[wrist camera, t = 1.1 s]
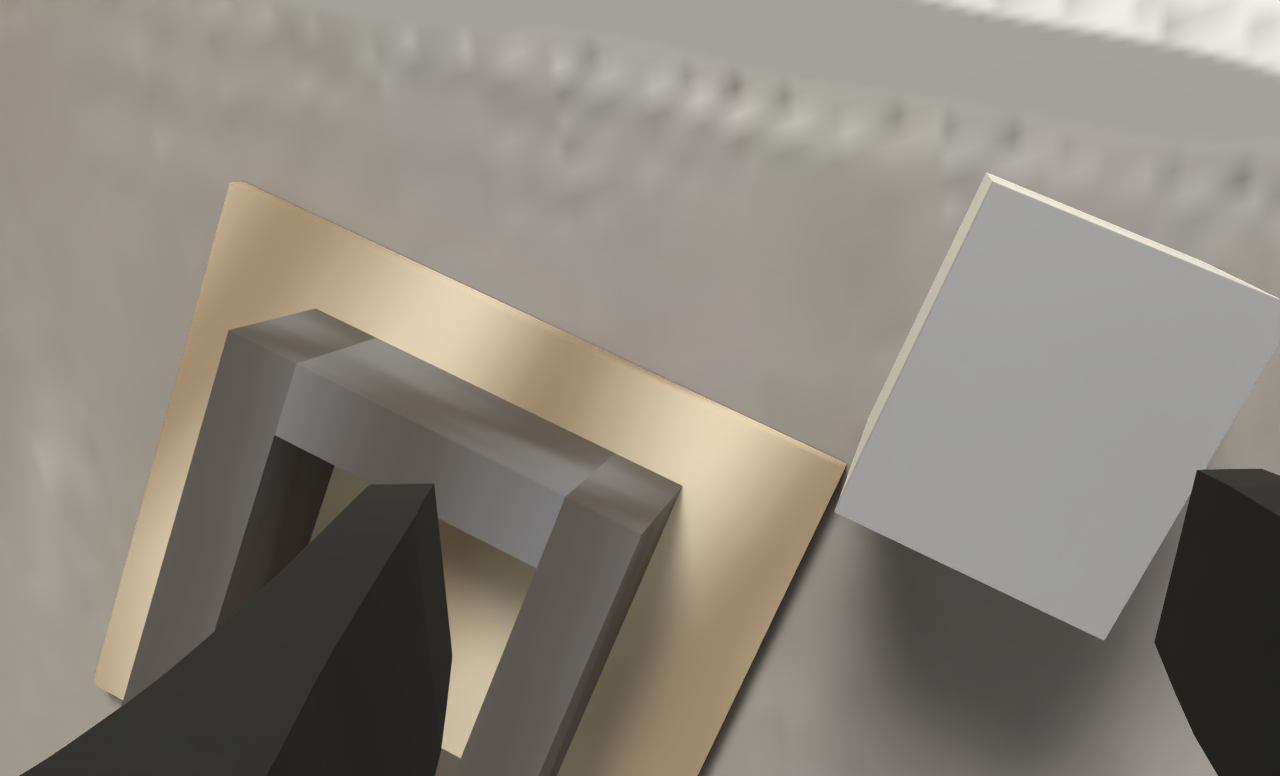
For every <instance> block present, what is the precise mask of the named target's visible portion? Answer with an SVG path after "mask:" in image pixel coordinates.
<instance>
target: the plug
mask: <svg viewBox="0 0 1280 776" xmlns="http://www.w3.org/2000/svg"><path fill="white" fill-rule="evenodd" d="M1279 342H1280V299H1279V298H1277V297H1275V296H1272V295H1270V294H1268V293H1266V292H1264V291H1262V290H1260V289H1258V288H1256V287H1254V286H1252V285H1250V284H1248V283H1246V282H1244V281H1242V280H1240V279H1238V278H1236V277H1234V276H1232V275H1230V274H1228V273H1226V272H1223V271H1221V270H1219V269H1217V268H1215V267H1213V266H1211V265H1209V264H1207V263H1205V262H1203V261H1200V260H1198V259H1196V258H1193V257H1191V256H1188V255H1186V254H1183V253H1181V252H1179V251H1176V250H1174V249H1171V248H1169V247H1166V246H1164V245H1162V244H1159V243H1157V242H1154V241H1152V240H1149V239H1147V238H1145V237H1142V236H1140V235H1137V234H1135V233H1132V232H1130V231H1128V230H1125V229H1123V228H1120V227H1118V226H1115V225H1113V224H1111V223H1108V222H1106V221H1103V220H1101V219H1098V218H1096V217H1094V216H1091V215H1089V214H1086V213H1084V212H1081V211H1079V210H1077V209H1074V208H1072V207H1069V206H1067V205H1064V204H1062V203H1060V202H1057V201H1055V200H1052V199H1050V198H1048V197H1045V196H1043V195H1040V194H1038V193H1035V192H1033V191H1031V190H1028V189H1026V188H1023V187H1021V186H1018V185H1016V184H1014V183H1011V182H1009V181H1006V180H1004V179H1001V178H999V177H997V176H994V175H992V174H989V173H987V172H986V174H985V176H984V178H983V180H982V182H981V184H980V186H979V188H978V190H977V192H976V195H975V197H974V199H973V201H972V203H971V205H970V207H969V209H968V211H967V213H966V215H965V217H964V220H963V222H962V224H961V226H960V228H959V230H958V232H957V234H956V236H955V238H954V240H953V243H952V245H951V247H950V249H949V251H948V253H947V255H946V257H945V259H944V261H943V263H942V265H941V268H940V270H939V272H938V274H937V276H936V278H935V280H934V282H933V284H932V286H931V288H930V290H929V293H928V295H927V297H926V299H925V301H924V303H923V305H922V307H921V309H920V311H919V313H918V316H917V318H916V320H915V322H914V324H913V326H912V328H911V330H910V332H909V334H908V336H907V338H906V341H905V343H904V345H903V347H902V349H901V351H900V353H899V355H898V357H897V359H896V361H895V363H894V366H893V368H892V370H891V372H890V374H889V376H888V378H887V380H886V382H885V384H884V386H883V389H882V391H881V393H880V395H879V397H878V399H877V401H876V403H875V405H874V407H873V409H872V411H871V414H870V416H869V418H868V420H867V423H866V426H865V429H864V431H863V434H862V437H861V440H860V442H859V445H858V448H857V451H856V453H855V456H854V459H853V462H852V464H851V467H850V470H849V473H848V475H847V478H846V481H845V484H844V486H843V489H842V492H841V495H840V497H839V500H838V503H837V506H836V508H835V511H834V512H835V513H837V514H839V515H841V516H843V517H845V518H848V519H850V520H852V521H854V522H856V523H858V524H860V525H862V526H864V527H866V528H869V529H871V530H873V531H875V532H877V533H879V534H881V535H883V536H885V537H887V538H890V539H892V540H894V541H896V542H898V543H900V544H902V545H904V546H906V547H908V548H911V549H913V550H915V551H917V552H919V553H921V554H923V555H925V556H927V557H929V558H932V559H934V560H936V561H938V562H940V563H942V564H944V565H946V566H948V567H950V568H953V569H955V570H957V571H959V572H961V573H963V574H965V575H967V576H969V577H971V578H974V579H976V580H978V581H980V582H982V583H984V584H986V585H988V586H990V587H992V588H995V589H997V590H999V591H1001V592H1003V593H1005V594H1007V595H1009V596H1011V597H1013V598H1016V599H1018V600H1020V601H1022V602H1024V603H1026V604H1028V605H1030V606H1032V607H1034V608H1037V609H1039V610H1041V611H1043V612H1045V613H1047V614H1049V615H1051V616H1053V617H1055V618H1058V619H1060V620H1062V621H1064V622H1066V623H1068V624H1070V625H1072V626H1074V627H1076V628H1079V629H1081V630H1083V631H1085V632H1087V633H1089V634H1091V635H1093V636H1095V637H1097V638H1100V639H1102V640H1105V639H1106V637H1107V635H1108V634H1109V632H1110V630H1111V628H1112V627H1113V625H1114V623H1115V622H1116V620H1117V618H1118V616H1119V615H1120V613H1121V611H1122V610H1123V608H1124V606H1125V605H1126V603H1127V601H1128V599H1129V598H1130V596H1131V594H1132V593H1133V591H1134V589H1135V588H1136V586H1137V584H1138V582H1139V581H1140V579H1141V577H1142V576H1143V574H1144V572H1145V570H1146V569H1147V567H1148V565H1149V564H1150V562H1151V560H1152V559H1153V557H1154V555H1155V553H1156V552H1157V550H1158V548H1159V547H1160V545H1161V543H1162V542H1163V540H1164V538H1165V536H1166V535H1167V533H1168V531H1169V530H1170V528H1171V526H1172V524H1173V523H1174V521H1175V519H1176V518H1177V516H1178V514H1179V513H1180V511H1181V509H1182V507H1183V506H1184V504H1185V502H1186V501H1187V499H1188V497H1189V496H1190V494H1191V492H1192V488H1193V484H1194V480H1195V475H1196V471H1197V470H1205V468H1206V467H1207V465H1208V463H1209V461H1210V460H1211V458H1212V456H1213V455H1214V453H1215V451H1216V449H1217V448H1218V446H1219V444H1220V443H1221V441H1222V439H1223V438H1224V436H1225V434H1226V432H1227V431H1228V429H1229V427H1230V426H1231V424H1232V422H1233V421H1234V419H1235V417H1236V415H1237V414H1238V412H1239V410H1240V409H1241V407H1242V405H1243V403H1244V402H1245V400H1246V398H1247V397H1248V395H1249V393H1250V392H1251V390H1252V388H1253V386H1254V385H1255V383H1256V381H1257V380H1258V378H1259V376H1260V375H1261V373H1262V371H1263V369H1264V368H1265V366H1266V364H1267V363H1268V361H1269V359H1270V357H1271V356H1272V354H1273V352H1274V351H1275V349H1276V347H1277V346H1278V344H1279Z"/></svg>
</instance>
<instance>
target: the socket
mask: <svg viewBox="0 0 1280 776" xmlns="http://www.w3.org/2000/svg"><path fill="white" fill-rule="evenodd" d="M845 466H846V463H844V462H842V461H840V460H838V459H836V458H833V457H831V456H829V455H827V454H825V453H823V452H821V451H818V450H816V449H814V448H812V447H810V446H808V445H806V444H803V443H801V442H799V441H797V440H795V439H793V438H791V437H789V436H786V435H784V434H782V433H780V432H778V431H776V430H774V429H771V428H769V427H767V426H765V425H763V424H761V423H759V422H756V421H754V420H752V419H750V418H748V417H746V416H744V415H741V414H739V413H737V412H735V411H733V410H731V409H729V408H726V407H724V406H722V405H720V404H718V403H716V402H714V401H712V400H709V399H707V398H705V397H703V396H701V395H699V394H697V393H694V392H692V391H690V390H688V389H686V388H684V387H682V386H679V385H677V384H675V383H673V382H671V381H669V380H667V379H664V378H662V377H660V376H658V375H656V374H654V373H652V372H649V371H647V370H645V369H643V368H641V367H639V366H637V365H635V364H632V363H630V362H628V361H626V360H624V359H622V358H620V357H617V356H615V355H613V354H611V353H609V352H607V351H605V350H602V349H600V348H598V347H596V346H594V345H592V344H590V343H587V342H585V341H583V340H581V339H579V338H577V337H575V336H573V335H570V334H568V333H566V332H564V331H562V330H560V329H558V328H555V327H553V326H551V325H549V324H547V323H545V322H543V321H540V320H538V319H536V318H534V317H532V316H530V315H528V314H525V313H523V312H521V311H519V310H517V309H515V308H513V307H510V306H508V305H506V304H504V303H502V302H500V301H498V300H496V299H493V298H491V297H489V296H487V295H485V294H483V293H481V292H478V291H476V290H474V289H472V288H470V287H468V286H466V285H463V284H461V283H459V282H457V281H455V280H453V279H451V278H448V277H446V276H444V275H442V274H440V273H438V272H436V271H433V270H431V269H429V268H427V267H425V266H423V265H421V264H419V263H416V262H414V261H412V260H410V259H408V258H406V257H404V256H401V255H399V254H397V253H395V252H393V251H391V250H389V249H386V248H384V247H382V246H380V245H378V244H376V243H374V242H371V241H369V240H367V239H365V238H363V237H361V236H359V235H356V234H354V233H352V232H350V231H348V230H346V229H344V228H342V227H339V226H337V225H335V224H333V223H331V222H329V221H327V220H324V219H322V218H320V217H318V216H316V215H314V214H312V213H309V212H307V211H305V210H303V209H301V208H299V207H297V206H294V205H292V204H290V203H288V202H286V201H284V200H282V199H279V198H277V197H275V196H273V195H271V194H269V193H267V192H265V191H262V190H260V189H258V188H256V187H254V186H252V185H250V184H247V183H245V182H232V183H230V184H229V187H228V191H227V195H226V198H225V202H224V206H223V209H222V213H221V217H220V220H219V224H218V228H217V231H216V235H215V238H214V242H213V246H212V249H211V253H210V257H209V260H208V264H207V268H206V271H205V275H204V279H203V282H202V286H201V290H200V293H199V297H198V301H197V304H196V308H195V312H194V315H193V319H192V322H191V326H190V330H189V333H188V337H187V341H186V344H185V348H184V352H183V355H182V359H181V363H180V366H179V370H178V374H177V377H176V381H175V385H174V388H173V392H172V396H171V399H170V403H169V407H168V410H167V414H166V417H165V421H164V425H163V428H162V432H161V436H160V439H159V443H158V447H157V450H156V454H155V458H154V461H153V465H152V469H151V472H150V476H149V480H148V483H147V487H146V491H145V494H144V498H143V502H142V505H141V509H140V512H139V516H138V520H137V523H136V527H135V531H134V534H133V538H132V542H131V545H130V549H129V553H128V556H127V560H126V564H125V567H124V571H123V575H122V578H121V582H120V586H119V589H118V593H117V596H116V600H115V604H114V607H113V611H112V615H111V618H110V622H109V626H108V629H107V633H106V637H105V640H104V644H103V648H102V651H101V655H100V659H99V662H98V666H97V670H96V673H95V677H94V681H93V684H95V685H97V686H98V687H100V688H102V689H104V690H105V691H107V692H109V693H111V694H112V695H114V696H116V697H118V698H119V699H121V700H123V702H122V706H123V705H125V704H126V703H127V702H129V701H130V700H131V699H132V698H134V697H135V696H136V695H138V694H139V693H140V692H142V691H143V690H144V689H146V688H147V687H148V686H150V685H151V684H152V683H153V682H155V681H156V680H157V679H159V678H160V677H161V676H162V675H164V674H165V673H166V672H167V671H169V670H170V669H171V668H172V667H174V666H175V665H176V664H177V663H178V662H179V661H181V660H182V659H183V658H184V657H185V656H186V655H188V654H189V653H190V652H191V651H192V650H193V649H195V648H196V647H197V646H198V645H199V644H200V643H202V642H203V641H204V640H205V639H206V638H207V637H209V636H210V635H211V634H212V633H213V632H215V631H216V630H217V629H218V628H219V627H220V626H222V625H223V624H224V623H225V622H226V621H227V620H229V619H230V618H231V617H232V616H233V615H234V614H236V613H237V612H238V611H239V610H240V609H241V608H243V607H244V606H245V605H246V604H247V603H248V602H249V601H250V600H251V599H252V598H253V597H254V596H255V595H256V594H257V593H258V592H260V591H261V590H262V589H263V588H264V587H265V586H266V585H267V584H268V583H269V582H270V581H271V580H272V579H273V578H274V577H275V576H276V575H278V574H279V573H280V572H281V571H282V570H283V569H284V568H285V567H286V566H287V565H288V564H289V563H290V562H291V561H292V560H293V559H294V558H295V557H296V556H297V555H298V554H299V553H300V552H301V551H302V550H303V549H304V548H305V547H306V546H307V545H308V544H309V543H310V542H311V541H312V540H313V539H314V538H315V537H316V536H317V535H318V534H319V533H320V532H321V531H322V530H323V529H324V528H325V527H326V526H327V525H328V524H329V523H330V522H331V521H332V520H333V519H334V518H335V517H336V516H337V515H338V514H339V513H340V512H341V511H342V510H343V509H345V508H346V507H347V506H348V505H349V504H350V503H351V502H352V501H353V500H354V499H355V498H356V497H357V496H358V495H359V494H360V493H361V492H362V491H363V490H364V489H365V488H366V487H367V486H369V485H372V484H428V483H434V486H435V495H436V505H437V514H438V523H439V533H440V542H441V552H442V561H443V571H444V580H445V589H446V599H447V608H448V618H449V627H450V637H451V646H452V655H453V656H452V665H451V674H450V683H449V691H448V700H447V709H446V717H445V724H444V732H443V740H442V747H441V753H440V757H439V761H438V766H437V770H436V774H435V776H698V774H699V772H700V770H701V767H702V765H703V763H704V761H705V759H706V757H707V755H708V753H709V751H710V749H711V747H712V745H713V742H714V740H715V738H716V736H717V734H718V732H719V730H720V728H721V726H722V724H723V722H724V720H725V717H726V715H727V713H728V711H729V709H730V707H731V705H732V703H733V701H734V699H735V697H736V694H737V692H738V690H739V688H740V686H741V684H742V682H743V680H744V678H745V676H746V674H747V672H748V669H749V667H750V665H751V663H752V661H753V659H754V657H755V655H756V653H757V651H758V649H759V647H760V644H761V642H762V640H763V638H764V636H765V634H766V632H767V630H768V628H769V626H770V624H771V622H772V619H773V617H774V615H775V613H776V611H777V609H778V607H779V605H780V603H781V601H782V599H783V597H784V594H785V592H786V590H787V588H788V586H789V584H790V582H791V580H792V578H793V576H794V574H795V571H796V569H797V567H798V565H799V563H800V561H801V559H802V557H803V555H804V553H805V551H806V549H807V546H808V544H809V542H810V540H811V538H812V536H813V534H814V532H815V530H816V528H817V526H818V524H819V521H820V519H821V517H822V515H823V513H824V511H825V509H826V507H827V505H828V503H829V501H830V499H831V496H832V494H833V492H834V490H835V488H836V486H837V484H838V482H839V480H840V478H841V476H842V474H843V471H844V469H845ZM122 706H121V707H122Z"/></svg>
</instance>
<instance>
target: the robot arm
mask: <svg viewBox="0 0 1280 776" xmlns="http://www.w3.org/2000/svg"><path fill="white" fill-rule="evenodd" d="M1155 644H1156V647H1157V649H1158V652H1159V654H1160V657H1161V659H1162V662H1163V664H1164V667H1165V669H1166V672H1167V674H1168V676H1169V679H1170V681H1171V684H1172V686H1173V689H1174V691H1175V694H1176V696H1177V698H1178V700H1179V702H1180V705H1181V707H1182V709H1183V711H1184V713H1185V716H1186V718H1187V720H1188V722H1189V725H1190V727H1191V729H1192V731H1193V733H1194V735H1195V737H1196V739H1197V741H1198V742H1199V744H1200V746H1201V747H1202V749H1203V751H1204V753H1205V754H1206V756H1207V758H1208V760H1209V761H1210V763H1211V765H1212V766H1213V768H1214V770H1215V771H1216V773H1217V774H1218V776H1280V476H1279V475H1276V474H1274V473H1271V472H1269V471H1266V470H1263V469H1220V470H1197V471H1196V475H1195V480H1194V484H1193V488H1192V492H1191V496H1190V500H1189V504H1188V508H1187V512H1186V516H1185V520H1184V524H1183V528H1182V532H1181V537H1180V541H1179V545H1178V549H1177V553H1176V557H1175V561H1174V565H1173V569H1172V573H1171V577H1170V581H1169V585H1168V589H1167V593H1166V598H1165V602H1164V606H1163V610H1162V614H1161V618H1160V622H1159V626H1158V630H1157V634H1156V638H1155ZM452 656H453V655H452V646H451V637H450V627H449V618H448V608H447V599H446V589H445V580H444V571H443V561H442V552H441V542H440V533H439V523H438V514H437V505H436V495H435V486H434V483H428V484H372V485H369V486H367V487H366V488H365V489H364V490H363V491H362V492H361V493H360V494H359V495H358V496H357V497H356V498H355V499H354V500H353V501H352V502H351V503H350V504H349V505H348V506H347V507H346V508H345V509H343V510H342V511H341V512H340V513H339V514H338V515H337V516H336V517H335V518H334V519H333V520H332V521H331V522H330V523H329V524H328V525H327V526H326V527H325V528H324V529H323V530H322V531H321V532H320V533H319V534H318V535H317V536H316V537H315V538H314V539H313V540H312V541H311V542H310V543H309V544H308V545H307V546H306V547H305V548H304V549H303V550H302V551H301V552H300V553H299V554H298V555H297V556H296V557H295V558H294V559H293V560H292V561H291V562H290V563H289V564H288V565H287V566H286V567H285V568H284V569H283V570H282V571H281V572H280V573H279V574H278V575H276V576H275V577H274V578H273V579H272V580H271V581H270V582H269V583H268V584H267V585H266V586H265V587H264V588H263V589H262V590H261V591H260V592H258V593H257V594H256V595H255V596H254V597H253V598H252V599H251V600H250V601H249V602H248V603H247V604H246V605H245V606H244V607H243V608H241V609H240V610H239V611H238V612H237V613H236V614H234V615H233V616H232V617H231V618H230V619H229V620H227V621H226V622H225V623H224V624H223V625H222V626H220V627H219V628H218V629H217V630H216V631H215V632H213V633H212V634H211V635H210V636H209V637H207V638H206V639H205V640H204V641H203V642H202V643H200V644H199V645H198V646H197V647H196V648H195V649H193V650H192V651H191V652H190V653H189V654H188V655H186V656H185V657H184V658H183V659H182V660H181V661H179V662H178V663H177V664H176V665H175V666H174V667H172V668H171V669H170V670H169V671H167V672H166V673H165V674H164V675H162V676H161V677H160V678H159V679H157V680H156V681H155V682H153V683H152V684H151V685H150V686H148V687H147V688H146V689H144V690H143V691H142V692H140V693H139V694H138V695H136V696H135V697H134V698H132V699H131V700H130V701H129V702H127V703H126V704H125V705H123V706H122V707H121V708H119V709H118V710H116V711H115V712H113V713H112V714H111V715H109V716H108V717H106V718H105V719H104V720H102V721H101V722H99V723H98V724H96V725H95V726H94V727H92V728H91V729H89V730H88V731H87V732H85V733H84V734H82V735H81V736H79V737H78V738H77V739H75V740H74V741H72V742H71V743H70V744H68V745H67V746H65V747H64V748H62V749H61V750H59V751H58V752H56V753H55V754H53V755H52V756H50V757H49V758H47V759H46V760H44V761H43V762H41V763H39V764H38V765H36V766H34V767H33V768H31V769H30V770H28V771H26V772H25V773H23V774H21V775H20V776H435V774H436V770H437V766H438V761H439V757H440V753H441V747H442V740H443V732H444V724H445V717H446V709H447V700H448V691H449V683H450V674H451V665H452Z"/></svg>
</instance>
